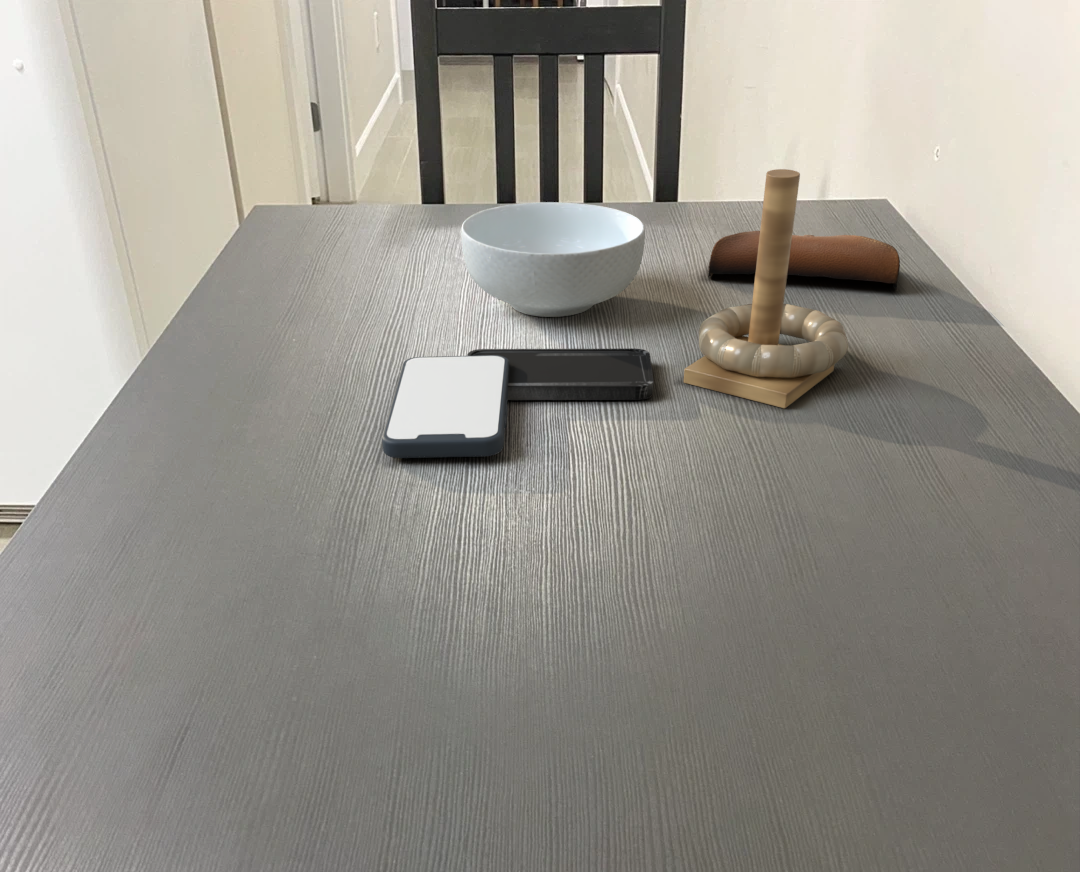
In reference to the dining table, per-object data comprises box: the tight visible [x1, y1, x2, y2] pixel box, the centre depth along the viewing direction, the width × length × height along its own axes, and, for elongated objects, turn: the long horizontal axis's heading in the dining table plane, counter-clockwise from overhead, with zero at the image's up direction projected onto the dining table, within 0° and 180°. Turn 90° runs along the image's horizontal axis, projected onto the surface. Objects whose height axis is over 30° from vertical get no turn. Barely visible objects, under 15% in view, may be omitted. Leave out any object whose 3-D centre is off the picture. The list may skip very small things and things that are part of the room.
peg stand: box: [683, 168, 836, 409], centre depth 84 cm, size 9×9×15 cm
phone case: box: [381, 355, 510, 459], centre depth 83 cm, size 9×2×16 cm
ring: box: [698, 303, 849, 378], centre depth 88 cm, size 12×12×2 cm
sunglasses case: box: [707, 230, 901, 290], centre depth 106 cm, size 18×7×7 cm
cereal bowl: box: [460, 201, 646, 318], centre depth 100 cm, size 17×17×7 cm
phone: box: [466, 348, 654, 401], centre depth 88 cm, size 8×1×15 cm
